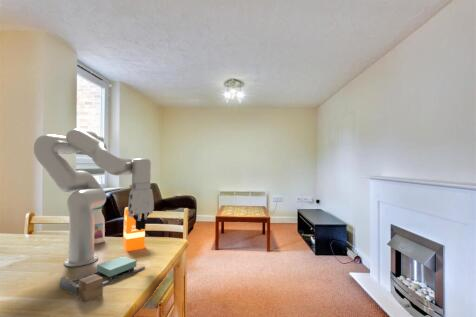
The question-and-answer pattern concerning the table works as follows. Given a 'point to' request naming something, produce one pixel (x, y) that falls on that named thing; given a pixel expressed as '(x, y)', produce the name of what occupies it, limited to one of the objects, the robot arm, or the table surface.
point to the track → (74, 287)
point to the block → (90, 288)
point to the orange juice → (132, 234)
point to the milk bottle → (99, 225)
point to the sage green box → (116, 266)
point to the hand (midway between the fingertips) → (140, 228)
